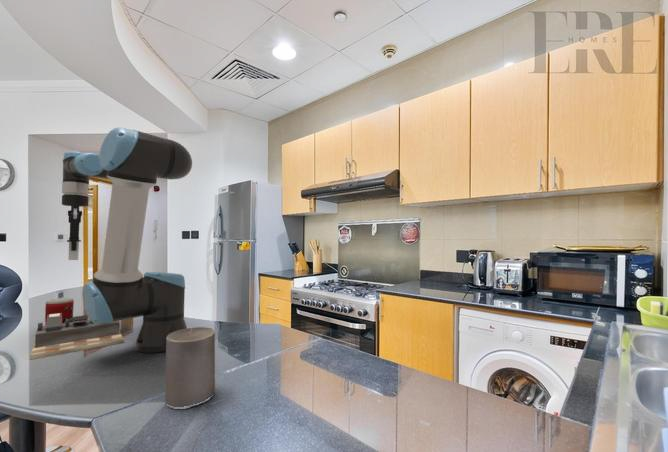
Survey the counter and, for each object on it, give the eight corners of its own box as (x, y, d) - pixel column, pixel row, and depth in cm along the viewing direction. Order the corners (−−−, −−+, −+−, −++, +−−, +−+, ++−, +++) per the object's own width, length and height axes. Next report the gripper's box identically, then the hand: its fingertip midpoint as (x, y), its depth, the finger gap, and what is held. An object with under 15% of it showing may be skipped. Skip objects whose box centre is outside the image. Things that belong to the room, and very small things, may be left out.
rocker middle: (87, 318, 103) (87, 314, 103) (73, 320, 100) (73, 316, 101) (86, 320, 109) (86, 316, 109) (72, 321, 107) (72, 317, 107)
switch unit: (123, 342, 102) (124, 320, 102) (30, 359, 88) (31, 333, 88) (117, 330, 116) (117, 310, 116) (35, 343, 101) (36, 320, 102)
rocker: (61, 329, 98) (61, 325, 98) (45, 331, 96) (45, 327, 96) (61, 316, 105) (61, 312, 105) (47, 318, 103) (47, 314, 103)
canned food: (67, 331, 115) (68, 301, 115) (40, 333, 112) (41, 302, 112) (76, 326, 122) (77, 297, 122) (50, 328, 119) (51, 299, 119)
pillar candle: (184, 385, 72) (185, 320, 73) (223, 388, 71) (223, 322, 71) (153, 408, 63) (154, 333, 63) (197, 412, 61) (198, 335, 62)
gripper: (89, 194, 111) (87, 260, 110) (87, 197, 121) (85, 258, 120) (61, 192, 106) (59, 261, 105) (62, 196, 116) (59, 259, 115)
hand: (73, 259), depth 113 cm, fingers closed
